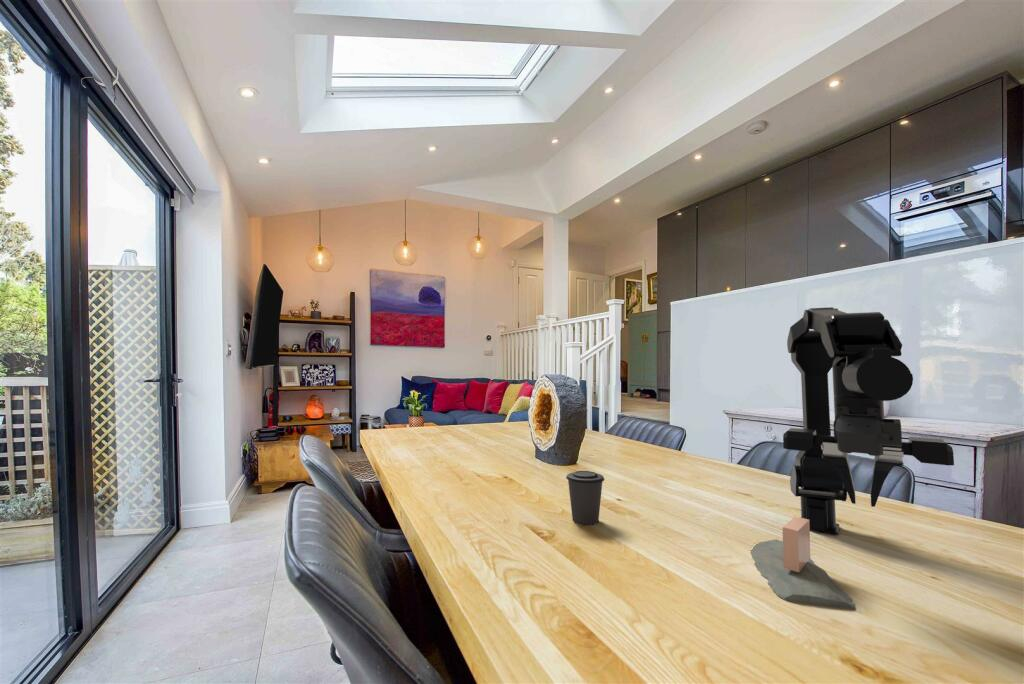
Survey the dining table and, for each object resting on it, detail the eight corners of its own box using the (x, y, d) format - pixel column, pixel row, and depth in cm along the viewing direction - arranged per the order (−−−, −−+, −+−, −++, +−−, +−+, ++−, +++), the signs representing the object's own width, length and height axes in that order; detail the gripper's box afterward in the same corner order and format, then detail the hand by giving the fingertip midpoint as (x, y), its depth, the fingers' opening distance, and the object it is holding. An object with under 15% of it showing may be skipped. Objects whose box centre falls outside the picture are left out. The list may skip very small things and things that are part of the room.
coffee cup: (608, 528, 85) (608, 477, 86) (568, 527, 86) (567, 476, 86) (601, 514, 93) (600, 468, 94) (564, 514, 94) (563, 467, 94)
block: (783, 567, 64) (782, 527, 65) (795, 554, 69) (794, 516, 70) (799, 572, 63) (798, 530, 63) (810, 558, 68) (809, 519, 68)
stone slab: (782, 615, 58) (866, 615, 56) (778, 594, 58) (861, 593, 56) (735, 550, 80) (794, 548, 78) (732, 535, 80) (791, 532, 78)
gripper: (775, 396, 63) (780, 505, 62) (957, 403, 51) (966, 537, 50) (786, 393, 72) (790, 488, 71) (943, 398, 60) (951, 513, 59)
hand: (863, 504), depth 62 cm, fingers closed
